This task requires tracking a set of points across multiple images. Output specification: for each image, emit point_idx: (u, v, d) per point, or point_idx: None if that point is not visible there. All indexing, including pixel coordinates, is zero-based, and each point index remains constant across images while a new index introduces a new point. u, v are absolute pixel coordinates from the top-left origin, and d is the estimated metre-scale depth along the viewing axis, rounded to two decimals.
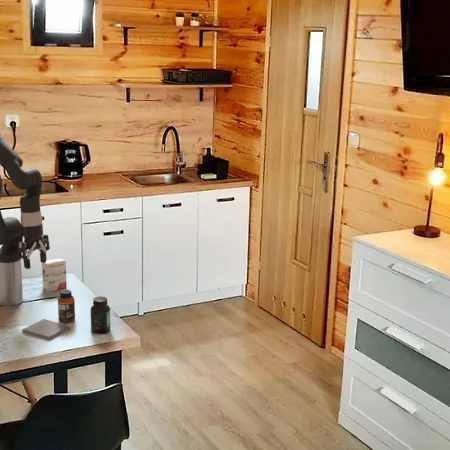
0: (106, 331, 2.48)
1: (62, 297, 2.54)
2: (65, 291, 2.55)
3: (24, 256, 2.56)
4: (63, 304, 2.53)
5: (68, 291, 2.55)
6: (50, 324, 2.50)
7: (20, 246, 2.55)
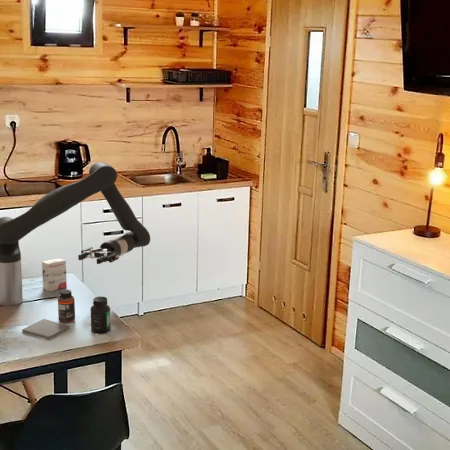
0: (106, 331, 2.48)
1: (62, 297, 2.54)
2: (65, 291, 2.55)
3: None
4: (63, 304, 2.53)
5: (68, 291, 2.55)
6: (50, 324, 2.50)
7: (117, 256, 2.69)
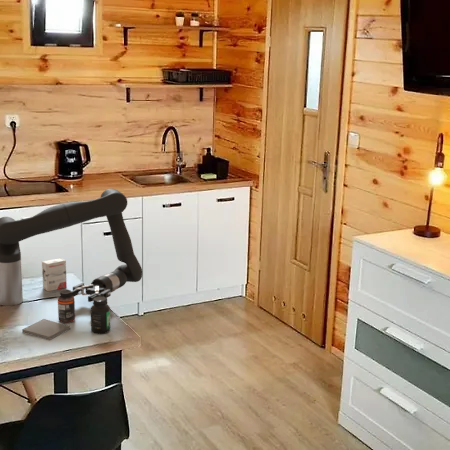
0: (106, 331, 2.48)
1: (62, 297, 2.54)
2: (65, 291, 2.55)
3: None
4: (63, 304, 2.53)
5: (68, 291, 2.55)
6: (50, 324, 2.50)
7: (109, 293, 2.68)
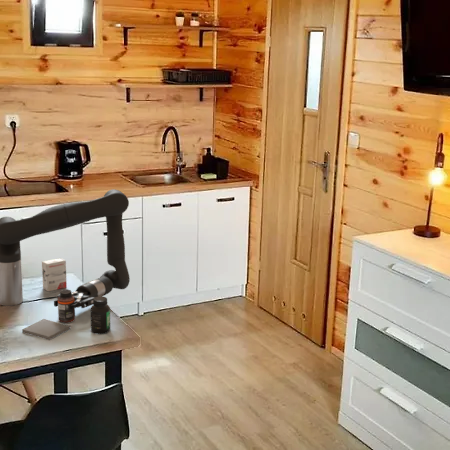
0: (106, 331, 2.48)
1: (62, 297, 2.54)
2: (65, 291, 2.55)
3: None
4: (63, 304, 2.53)
5: (68, 291, 2.55)
6: (50, 324, 2.50)
7: (92, 301, 2.59)
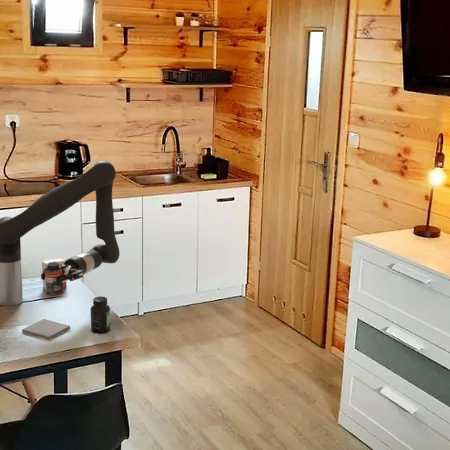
0: (106, 331, 2.48)
1: (49, 269, 2.45)
2: (52, 263, 2.46)
3: None
4: (51, 277, 2.44)
5: (56, 263, 2.46)
6: (50, 324, 2.50)
7: (80, 274, 2.50)
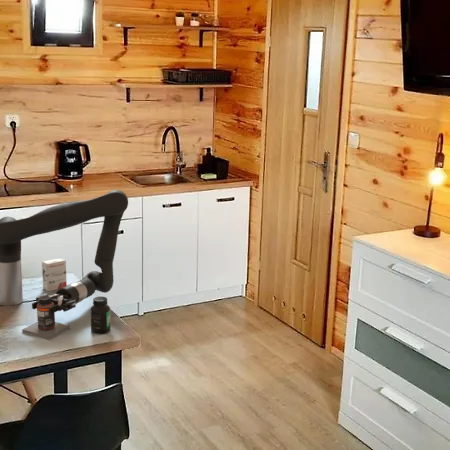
0: (106, 331, 2.48)
1: (41, 303, 2.44)
2: (44, 297, 2.45)
3: None
4: (42, 311, 2.43)
5: (47, 297, 2.45)
6: None
7: (73, 304, 2.49)
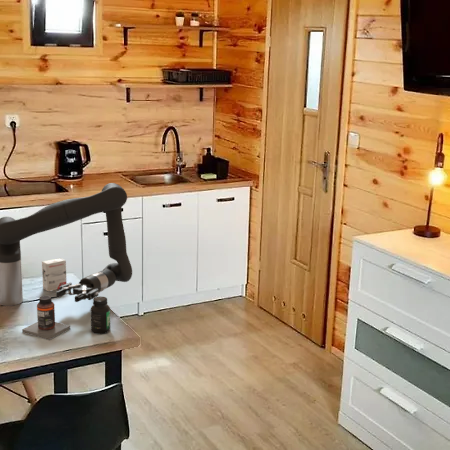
0: (106, 331, 2.48)
1: (41, 303, 2.44)
2: (44, 297, 2.45)
3: None
4: (42, 311, 2.43)
5: (48, 297, 2.45)
6: None
7: (96, 293, 2.60)
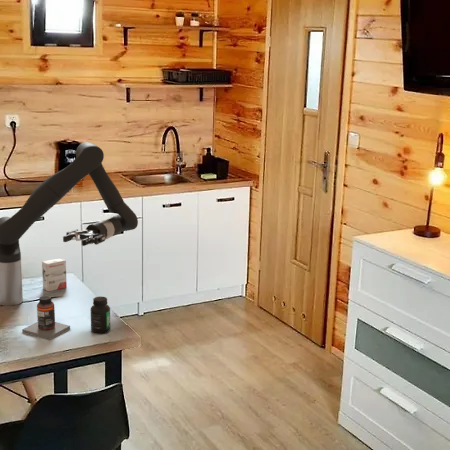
0: (106, 331, 2.48)
1: (41, 303, 2.44)
2: (44, 297, 2.45)
3: None
4: (42, 311, 2.43)
5: (48, 297, 2.45)
6: None
7: (103, 238, 2.62)
